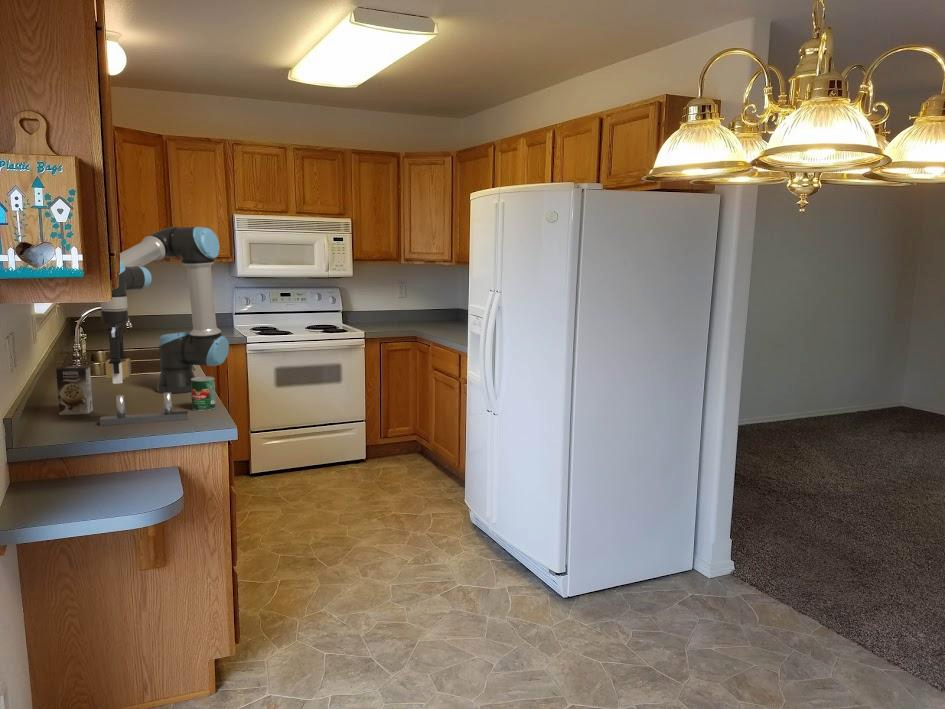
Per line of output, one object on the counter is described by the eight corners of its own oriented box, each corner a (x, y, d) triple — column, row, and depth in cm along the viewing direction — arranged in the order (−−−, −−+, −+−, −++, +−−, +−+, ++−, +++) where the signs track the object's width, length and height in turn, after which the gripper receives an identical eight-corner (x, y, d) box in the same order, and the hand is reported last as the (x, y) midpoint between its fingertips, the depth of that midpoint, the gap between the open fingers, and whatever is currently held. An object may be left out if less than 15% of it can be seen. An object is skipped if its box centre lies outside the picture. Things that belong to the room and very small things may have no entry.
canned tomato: (192, 412, 236) (190, 381, 234) (192, 407, 243) (190, 377, 242) (216, 410, 239) (215, 379, 237) (215, 405, 246) (214, 375, 245)
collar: (109, 374, 220) (107, 359, 219) (131, 373, 222) (130, 358, 221) (106, 378, 214) (105, 362, 213) (129, 377, 216) (128, 361, 215)
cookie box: (58, 415, 228) (54, 368, 226) (64, 411, 235) (60, 365, 232) (88, 414, 231) (85, 367, 228) (93, 409, 237) (90, 364, 235)
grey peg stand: (101, 422, 220) (99, 395, 218) (188, 416, 229) (187, 390, 228) (100, 425, 216) (98, 398, 215) (188, 419, 226) (186, 393, 224)
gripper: (105, 307, 222) (109, 376, 226) (96, 313, 204) (101, 387, 208) (130, 307, 225) (134, 375, 228) (124, 312, 207) (128, 386, 210)
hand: (119, 381), depth 218 cm, fingers closed on collar, 6 cm apart
